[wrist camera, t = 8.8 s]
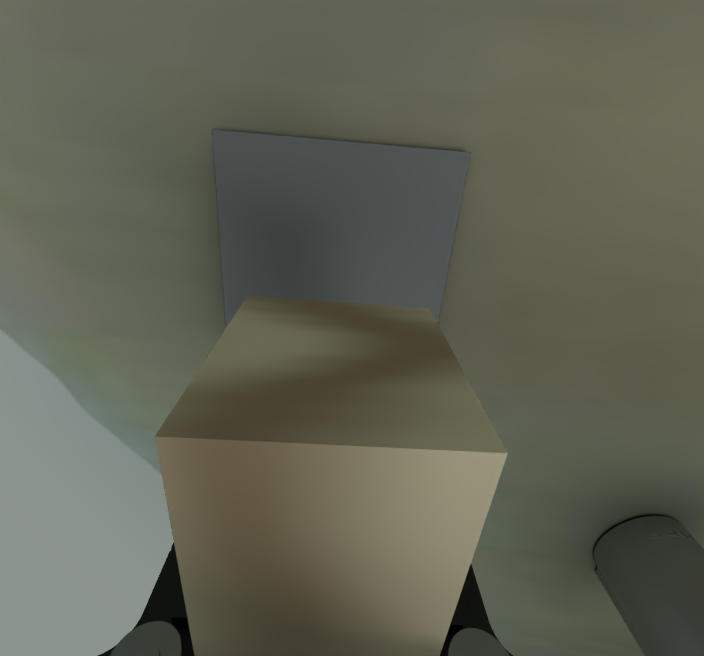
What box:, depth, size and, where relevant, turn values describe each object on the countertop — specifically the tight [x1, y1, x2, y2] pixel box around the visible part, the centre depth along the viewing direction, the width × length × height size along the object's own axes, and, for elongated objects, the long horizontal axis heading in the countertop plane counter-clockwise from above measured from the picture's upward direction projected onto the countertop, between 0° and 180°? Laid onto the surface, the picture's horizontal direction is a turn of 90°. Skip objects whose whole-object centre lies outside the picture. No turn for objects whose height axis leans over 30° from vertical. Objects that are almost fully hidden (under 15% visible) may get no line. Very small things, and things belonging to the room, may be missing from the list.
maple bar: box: [155, 296, 508, 656], centre depth 10 cm, size 4×12×5 cm, turn 175°
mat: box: [212, 129, 471, 328], centre depth 26 cm, size 20×15×1 cm
